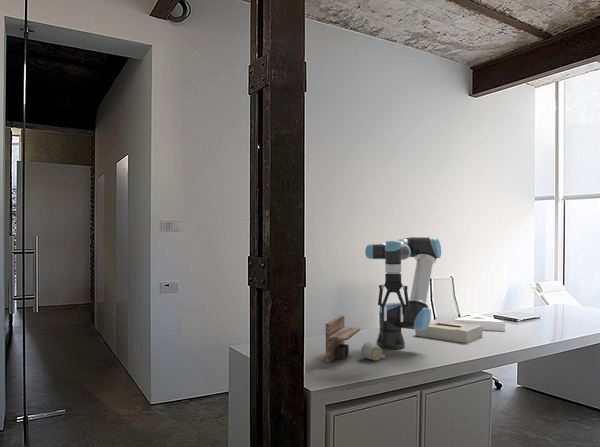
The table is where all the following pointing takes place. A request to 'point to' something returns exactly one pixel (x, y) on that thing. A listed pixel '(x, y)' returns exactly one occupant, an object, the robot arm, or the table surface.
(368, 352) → the ceramic mug
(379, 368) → the table surface
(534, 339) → the table surface
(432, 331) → the box
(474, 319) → the triangle block
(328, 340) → the walnut shelf
